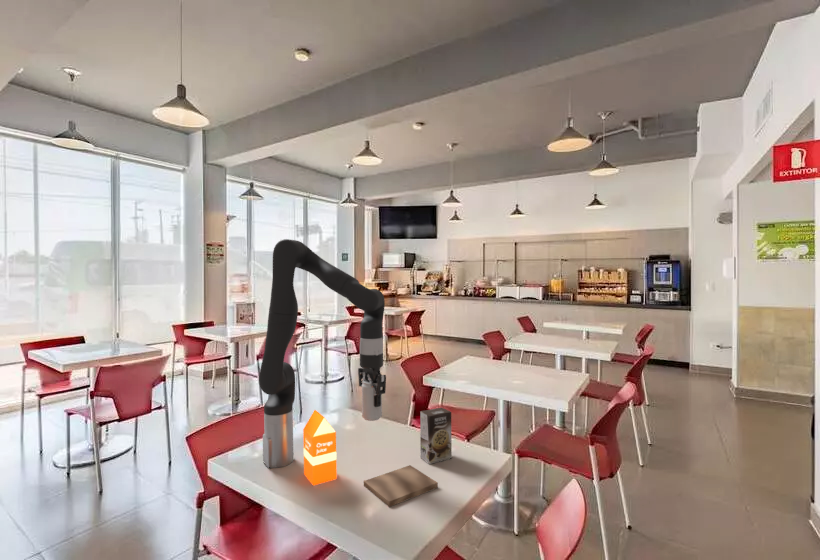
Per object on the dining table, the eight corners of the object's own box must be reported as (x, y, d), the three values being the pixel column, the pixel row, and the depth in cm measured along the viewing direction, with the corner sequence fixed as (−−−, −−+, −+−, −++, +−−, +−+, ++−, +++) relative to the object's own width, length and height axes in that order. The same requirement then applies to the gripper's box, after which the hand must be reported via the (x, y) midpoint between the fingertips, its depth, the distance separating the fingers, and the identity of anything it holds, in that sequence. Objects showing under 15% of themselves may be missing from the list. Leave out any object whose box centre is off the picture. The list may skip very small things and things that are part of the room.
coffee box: (429, 465, 137) (428, 416, 136) (419, 457, 142) (419, 410, 142) (452, 458, 141) (452, 411, 141) (442, 451, 147) (441, 406, 146)
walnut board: (389, 507, 112) (389, 501, 112) (363, 486, 124) (363, 481, 124) (437, 487, 122) (437, 482, 122) (410, 469, 133) (410, 465, 133)
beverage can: (378, 422, 129) (378, 383, 129) (359, 420, 130) (358, 383, 130) (384, 415, 135) (384, 378, 135) (365, 414, 137) (365, 377, 136)
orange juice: (312, 485, 124) (311, 419, 124) (303, 474, 132) (302, 411, 131) (337, 478, 128) (336, 414, 128) (327, 467, 136) (326, 406, 136)
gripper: (350, 349, 136) (350, 400, 136) (372, 356, 124) (373, 412, 125) (370, 347, 140) (370, 396, 141) (393, 353, 129) (393, 407, 129)
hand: (371, 403), depth 133 cm, fingers closed on beverage can, 6 cm apart
